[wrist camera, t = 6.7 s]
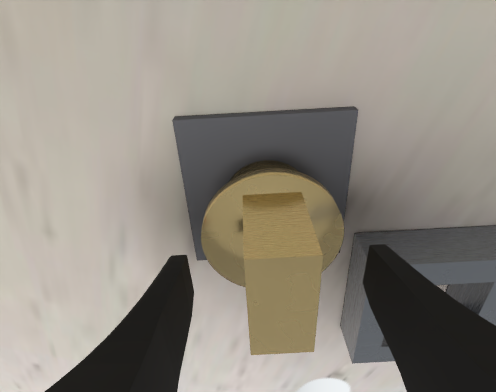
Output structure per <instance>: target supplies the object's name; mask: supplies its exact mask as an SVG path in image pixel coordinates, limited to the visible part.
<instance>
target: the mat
mask: <svg viewBox="0 0 496 392" xmlns="http://www.w3.org/2000/svg"><path fill="white" fill-rule="evenodd" d="M357 116H358V109H357V108H355V107H338V108H321V109H303V110H285V111H267V112H249V113H231V114H214V115H196V116H178V117H174V119H173V126H174V132H175V137H176V143H177V149H178V154H179V160H180V166H181V172H182V177H183V183H184V189H185V194H186V200H187V206H188V212H189V217H190V223H191V229H192V234H193V240H194V246H195V252H196V257H197V260H207V258H206V256H205V254H204V251H203V248H202V243H201V231H202V224H203V218H204V214H205V211H206V209H207V206H208V204H209V202H210V201H211V199H212V198H213V196H214V195H215V194H216V193H217V192H218V190H220V189H221V188H222V187H223V186H224V185H225V184H227V183H228V182H229V180H230V179H231V178H232V176H233V175H234V174H235V173H236V172H237V171H239V170H240V169H241V168H243V167H245V166H247V165H249V164H251V163H254V162H258V161H265V160H272V161H279V162H283V163H285V164H288V165H290V166H292V167H294V168H295V169H296V170H298V171H299V172H301V173H303V174H306V175H308V176H310V177H312V178H314V179H315V180H317V181H318V182H319V183H321V184H322V185H323V186H324V187H325V188H326V189H327V190H328V191H329V192H330V194H331V195H332V197H333V199H334V201H335V203H336V205H337V207H338V209H339V211H340V213H341V215H342V219H343V224H344V216H345V209H346V201H347V193H348V185H349V178H350V170H351V162H352V154H353V147H354V139H355V131H356V123H357ZM338 253H340V250H339V252H338Z"/></svg>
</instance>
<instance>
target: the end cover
mask: <svg viewBox="0 0 496 392" xmlns="http://www.w3.org/2000/svg"><path fill="white" fill-rule="evenodd" d="M343 237H344V224H343V219H342V215H341V213H340V211H339V209H338V207H337V205H336V203H335V201H334V199H333V197H332V195H331V194H330V192H329V191H328V190H327V189H326V188H325V187H324V186H323V185H322V184H321V183H319V182H318V181H317V180H315V179H314V178H312V177H310V176H308V175H306V174H303V173H301V172H299V171H298V170H296V169H295V168H294V167H292V166H290V165H288V164H285V163H283V162H279V161H272V160H265V161H258V162H254V163H251V164H249V165H247V166H245V167H243V168H241V169H240V170H239V171H237V172H236V173H235V174H234V175H233V176H232V178H231V179H230V180H229V182H228V183H227V184H225V185H224V186H223V187H222V188H221V189H220V190H218V192H217V193H216V194H215V195H214V196H213V198H212V199H211V201H210V202H209V204H208V206H207V209H206V211H205V214H204V218H203V224H202V231H201V243H202V248H203V251H204V254H205V256H206V258H207V260H208V262H209V263H210V265H211V266H212V267H213V268H214V269H215V270H216V271H217V272H218V273H219V274H220V275H221V276H223V277H224V278H226V279H227V280H229V281H231V282H233V283H235V284H238V285H240V286H243V287H246V296H247V310H248V323H249V337H250V350H251V355H262V354H280V353H299V352H314V346H315V336H316V325H317V315H318V304H319V293H320V283H321V272H323V271H324V270H325V269H326V268H327V267H328V266H329V265H330V264H331V263H332V261H333V260H334V259H335V257H336V256H337V254H338V252H339V250H340V248H341V245H342V242H343Z"/></svg>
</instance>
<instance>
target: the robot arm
mask: <svg viewBox="0 0 496 392" xmlns="http://www.w3.org/2000/svg"><path fill="white" fill-rule="evenodd" d="M362 283H363V286H364V289H365V293H366V296H367V299H368V302H369V305H370V308H371V310H372V312H373V314H374V316H375V319H376V321H377V323H378V325H379V327H380V329H381V332H382V334H383V336H384V338H385V340H386V342H387V344H388V346H389V349H390V351H391V353H392V355H393V357H394V359H395V362H396V364H397V366H398V369H399V371H400V373H401V376H402V379H403V382H404V385H405V387H406V390H407V392H496V325H494V324H492V323H490V322H489V321H487V320H486V319H484V318H482V317H481V316H479V315H478V314H476V313H475V312H473V311H471V310H470V309H468V308H467V307H465V306H464V305H462V304H461V303H459V302H458V301H457V300H455V299H454V298H452V297H451V296H450V295H448V294H447V293H445V292H444V291H443V290H441V289H440V288H439V287H437V286H436V285H435V284H433V283H432V282H431V281H430V280H428V279H427V278H426V277H424V276H423V275H422V274H421V273H419V272H418V271H417V270H416V269H415V268H413V267H412V266H411V265H410V264H409V263H407V262H406V261H405V260H404V259H403V258H401V257H400V256H399V255H398V254H397V253H395V252H394V251H393V250H392V249H391V248H389V247H388V246H387V245H386V244H378V245H369V251H368V256H367V261H366V267H365V272H364V277H363V282H362ZM193 297H194V289H193V284H192V279H191V274H190V269H189V264H188V259H187V255H175V256H171V257H170V258H169V259H168V261H167V262H166V264H165V265H164V267H163V268H162V270H161V271H160V273H159V274H158V275H157V277H156V278H155V280H154V281H153V283H152V284H151V285H150V287H149V288H148V289H147V291H146V292H145V293H144V295H143V296H142V297H141V299H140V300H139V301H138V302H137V304H136V305H135V306H134V307H133V308H132V310H131V311H130V312H129V313H128V315H127V316H126V317H125V318H124V319H123V320H122V321H121V323H120V324H119V325H118V326H117V327H116V328H115V329H114V330H113V331H112V332H111V333H110V334H109V335H108V336H107V338H106V339H105V340H104V341H103V342H101V343H100V344H99V345H98V346H97V347H96V348H95V349H94V350H93V351H92V352H91V353H90V354H89V355H88V356H87V357H86V358H85V359H84V360H82V361H81V362H80V363H79V364H78V365H77V366H76V367H74V368H73V369H72V370H71V371H70V372H68V373H67V374H66V375H65V376H64V377H62V378H61V379H60V380H59V381H58V382H56V383H55V384H54V385H53V386H51V387H50V388H49V389H47V390H46V391H45V392H177V389H178V382H179V376H180V370H181V366H182V361H183V356H184V351H185V347H186V342H187V337H188V332H189V327H190V322H191V317H192V308H193Z"/></svg>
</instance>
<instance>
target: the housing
mask: <svg viewBox="0 0 496 392" xmlns="http://www.w3.org/2000/svg"><path fill="white" fill-rule="evenodd" d="M378 244H386V245H387V246H388V247H389V248H391V249H392V250H393V251H394V252H395V253H397V254H398V255H399V256H400V257H401V258H403V259H404V260H405V261H406V262H407V263H409V264H410V265H411V266H412V267H413V268H415V269H416V270H417V271H418V272H419V273H421V274H422V275H423V276H424V277H426V278H427V279H428V280H430V281H431V282H432V283H433V284H435V285H447V284H449V285H448V288H447V290H446V293H447V294H448V295H450V296H451V297H452V298H454V299H455V300H457V301H458V302H459V303H461V304H462V305H464V306H465V307H467V308H468V309H470V310H471V311H473V312H475V313H476V314H478V315H479V316H481V317H482V318H484V319H486V320H487V321H489V322H490V323H492V324H494V325H496V226H478V227H460V228H442V229H423V230H405V231H386V232H368V233H355V234H354V241H353V247H352V254H351V260H350V267H349V273H348V280H347V286H346V293H345V299H344V306H343V312H342V319H341V325H340V326H341V329H342V333H343V336H344V339H345V342H346V345H347V348H348V351H349V355H350V358H351V361H352V363H368V362H387V361H395V359H394V357H393V355H392V353H391V351H390V349H389V346H388V344H387V342H386V340H385V338H384V336H383V334H382V332H381V329H380V327H379V325H378V323H377V321H376V319H375V316H374V314H373V312H372V310H371V308H370V305H369V302H368V299H367V296H366V293H365V289H364V286H363V283H362V282H363V277H364V272H365V267H366V261H367V256H368V251H369V245H378Z"/></svg>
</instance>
